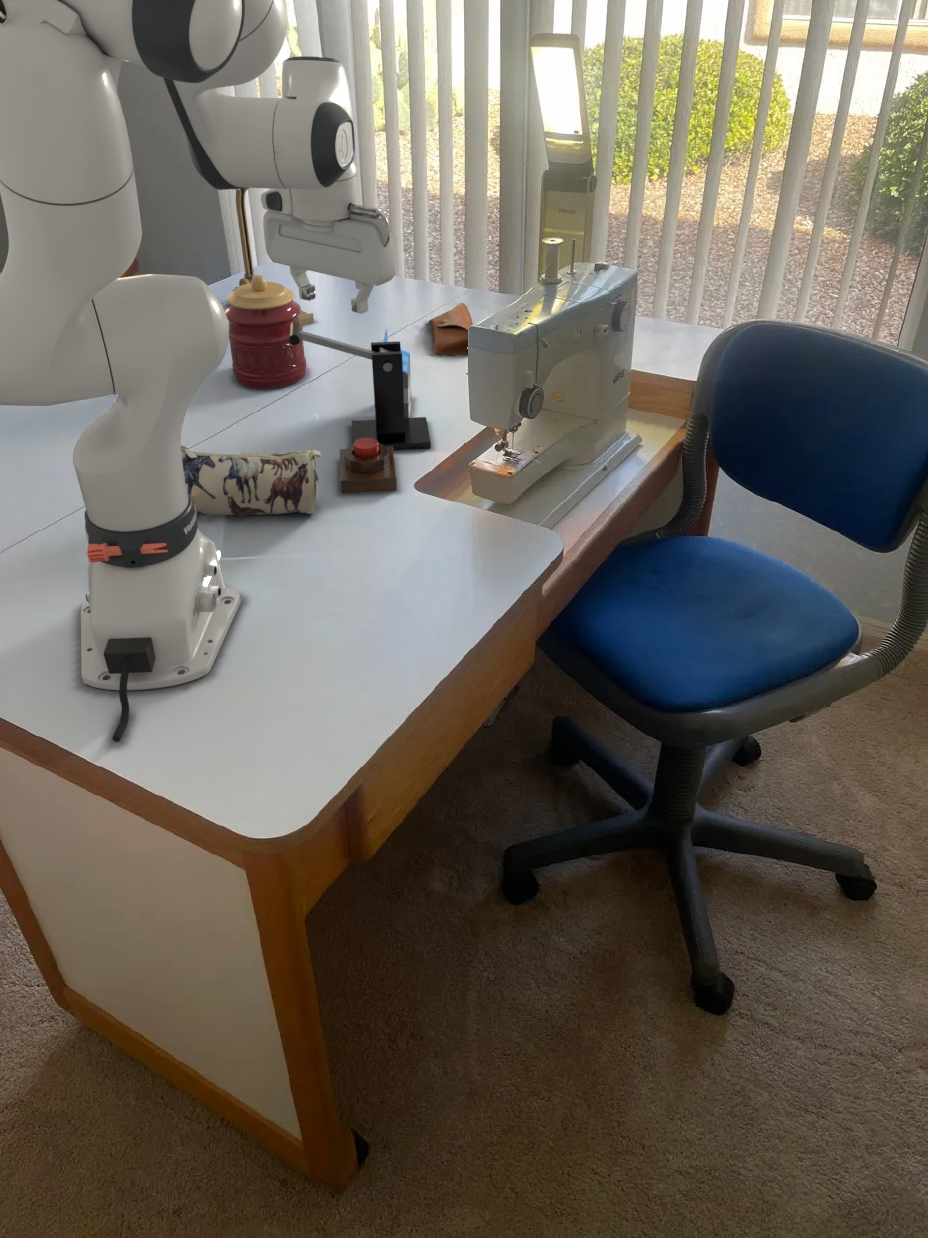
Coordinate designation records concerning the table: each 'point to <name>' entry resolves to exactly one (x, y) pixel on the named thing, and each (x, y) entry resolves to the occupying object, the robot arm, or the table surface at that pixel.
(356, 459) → the control block
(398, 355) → the bracket
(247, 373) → the kitchen canister
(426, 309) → the table surface
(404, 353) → the tape cartridge
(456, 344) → the sunglasses case
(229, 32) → the robot arm
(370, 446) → the button
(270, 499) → the pencil case
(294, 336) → the lever
